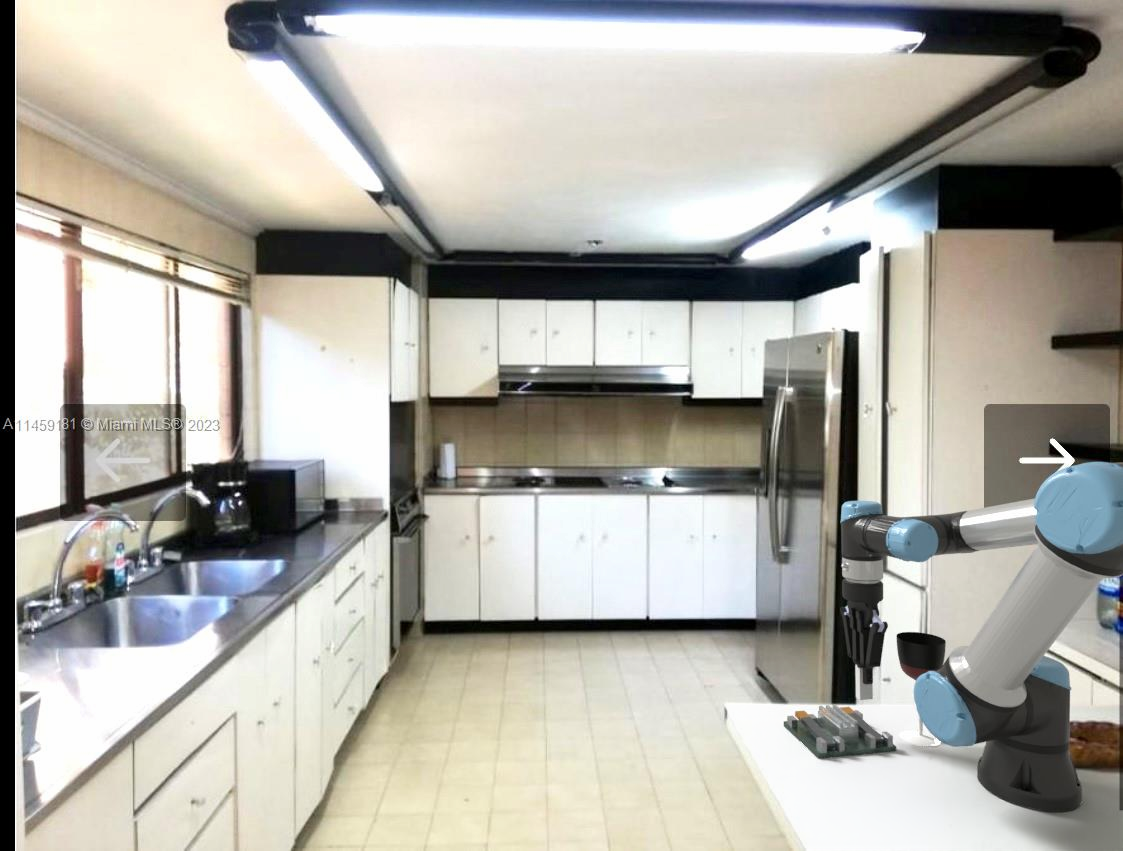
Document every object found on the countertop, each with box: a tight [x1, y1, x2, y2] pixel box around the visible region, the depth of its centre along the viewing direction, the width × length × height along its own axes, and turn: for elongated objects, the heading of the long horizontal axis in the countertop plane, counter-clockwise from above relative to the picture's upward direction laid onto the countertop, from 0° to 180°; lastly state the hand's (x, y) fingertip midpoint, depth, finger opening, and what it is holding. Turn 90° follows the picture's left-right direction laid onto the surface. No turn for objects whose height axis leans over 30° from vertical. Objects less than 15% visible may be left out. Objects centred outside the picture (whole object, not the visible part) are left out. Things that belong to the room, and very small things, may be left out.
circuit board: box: [783, 704, 897, 760], centre depth 143 cm, size 14×16×5 cm
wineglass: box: [896, 631, 947, 748], centre depth 142 cm, size 8×9×20 cm
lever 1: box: [794, 710, 835, 749], centre depth 142 cm, size 12×2×1 cm, turn 9°
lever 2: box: [839, 706, 884, 744], centre depth 144 cm, size 12×2×1 cm, turn 9°
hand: (864, 698), depth 143 cm, fingers closed
